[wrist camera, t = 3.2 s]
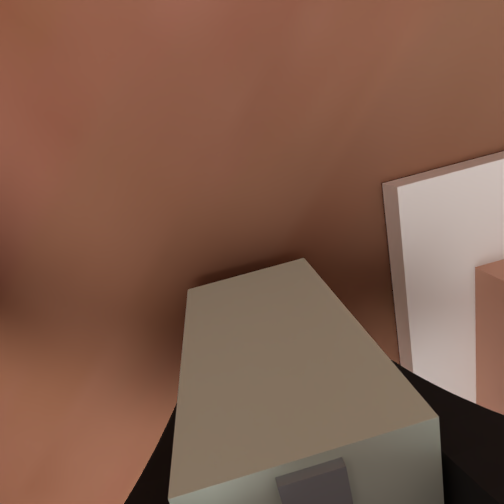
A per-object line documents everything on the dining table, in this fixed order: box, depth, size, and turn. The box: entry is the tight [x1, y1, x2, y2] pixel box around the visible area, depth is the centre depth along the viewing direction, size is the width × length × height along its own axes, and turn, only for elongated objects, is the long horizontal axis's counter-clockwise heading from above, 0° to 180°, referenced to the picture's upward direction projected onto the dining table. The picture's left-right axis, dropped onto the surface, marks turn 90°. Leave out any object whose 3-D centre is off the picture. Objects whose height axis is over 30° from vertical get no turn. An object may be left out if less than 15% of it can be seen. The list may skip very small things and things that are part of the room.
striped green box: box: [168, 258, 444, 504], centre depth 9 cm, size 6×4×7 cm, turn 13°
